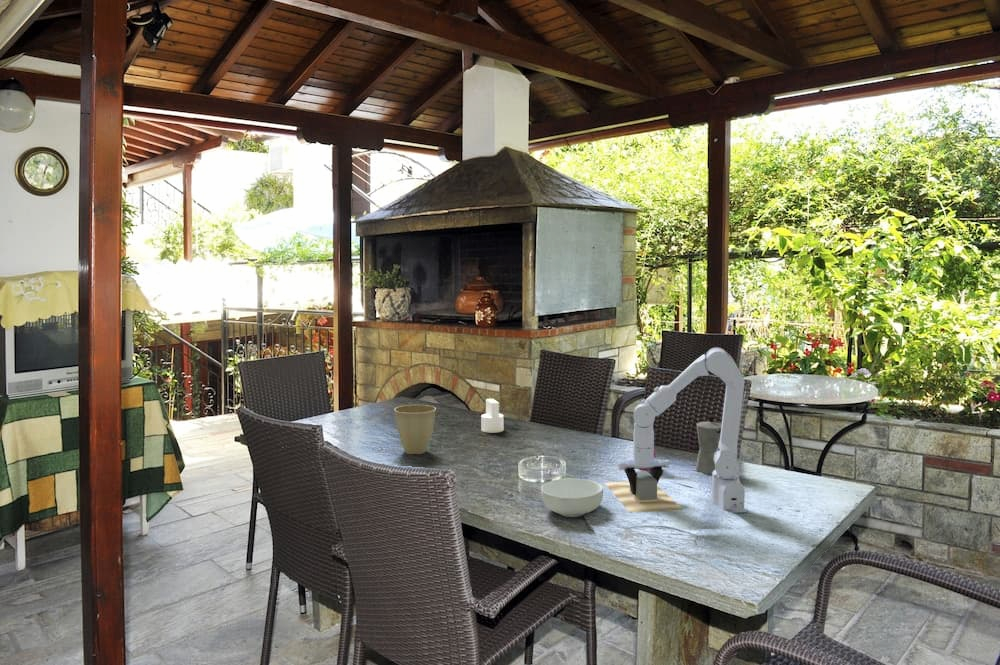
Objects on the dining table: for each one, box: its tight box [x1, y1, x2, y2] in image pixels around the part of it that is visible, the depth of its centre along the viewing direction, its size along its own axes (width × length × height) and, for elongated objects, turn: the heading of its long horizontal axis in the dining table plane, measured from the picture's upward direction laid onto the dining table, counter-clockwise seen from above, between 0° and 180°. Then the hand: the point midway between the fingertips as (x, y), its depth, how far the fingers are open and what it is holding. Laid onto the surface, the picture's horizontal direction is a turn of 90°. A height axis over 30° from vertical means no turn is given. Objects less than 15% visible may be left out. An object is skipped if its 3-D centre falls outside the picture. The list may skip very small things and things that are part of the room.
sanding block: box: [630, 470, 658, 502], centre depth 203 cm, size 9×5×6 cm, turn 7°
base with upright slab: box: [480, 398, 505, 434], centre depth 289 cm, size 9×9×12 cm
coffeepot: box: [695, 415, 722, 475], centre depth 230 cm, size 15×9×18 cm, turn 14°
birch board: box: [604, 481, 684, 513], centre depth 205 cm, size 26×15×1 cm, turn 7°
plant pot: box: [393, 404, 437, 455], centre depth 256 cm, size 15×15×16 cm
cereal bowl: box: [540, 477, 604, 518], centre depth 195 cm, size 17×17×7 cm
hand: (643, 493), depth 203 cm, fingers closed on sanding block, 5 cm apart
